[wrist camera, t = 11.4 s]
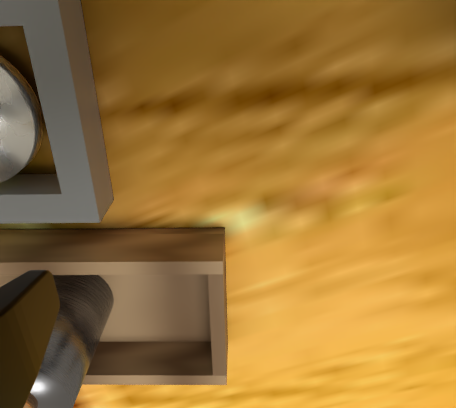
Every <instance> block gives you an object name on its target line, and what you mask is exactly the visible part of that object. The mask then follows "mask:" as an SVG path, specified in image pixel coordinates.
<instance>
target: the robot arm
mask: <svg viewBox="0 0 456 408" xmlns="http://www.w3.org/2000/svg"><path fill="white" fill-rule="evenodd" d="M59 308H60V300H59V296H58V292H57V288H56V285H55V281H54V278H53V275H52V273H51V272H50V271H48V270H30V271H27V272H26V273H24V274H22V275H20V276H19V277H17V278H15V279H13V280H12V281H10V282H8V283H6V284H5V285H3V286H1V287H0V408H23V407H24V405H25V403H26V401H27V399H28V396H29V394H30V392H31V390H32V387H33V385H34V383H35V380H36V378H37V376H38V373H39V370H40V367H41V364H42V361H43V358H44V355H45V352H46V349H47V346H48V343H49V340H50V337H51V334H52V331H53V328H54V325H55V322H56V319H57V316H58V313H59Z"/></svg>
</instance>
